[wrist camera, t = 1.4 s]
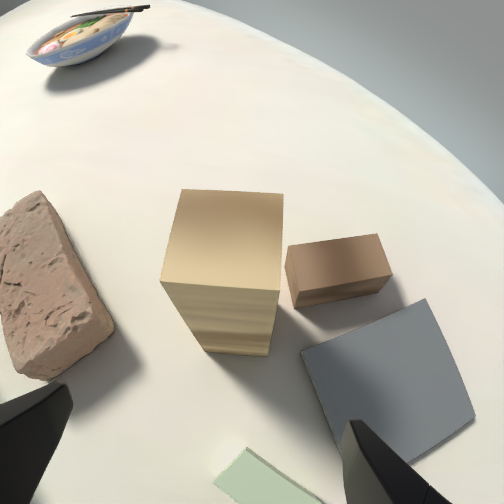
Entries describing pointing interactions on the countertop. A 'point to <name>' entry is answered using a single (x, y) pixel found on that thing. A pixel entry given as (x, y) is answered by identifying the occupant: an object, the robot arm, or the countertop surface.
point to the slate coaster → (392, 381)
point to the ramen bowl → (83, 36)
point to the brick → (45, 293)
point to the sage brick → (260, 483)
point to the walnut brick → (336, 269)
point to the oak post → (226, 268)
